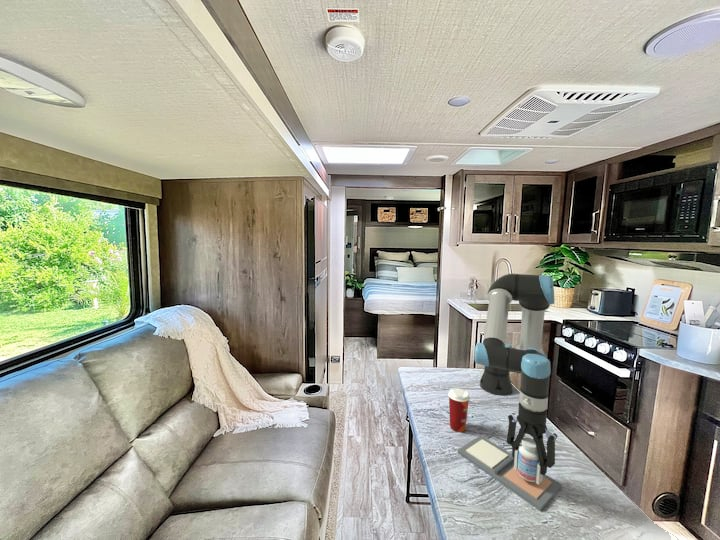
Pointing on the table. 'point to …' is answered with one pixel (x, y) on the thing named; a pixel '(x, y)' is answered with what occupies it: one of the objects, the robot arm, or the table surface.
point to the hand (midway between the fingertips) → (527, 474)
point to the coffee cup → (458, 409)
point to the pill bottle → (528, 460)
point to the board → (508, 472)
